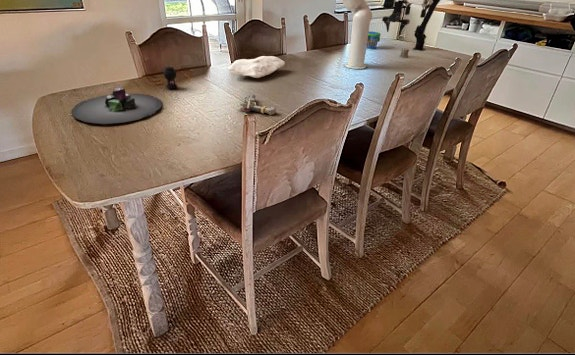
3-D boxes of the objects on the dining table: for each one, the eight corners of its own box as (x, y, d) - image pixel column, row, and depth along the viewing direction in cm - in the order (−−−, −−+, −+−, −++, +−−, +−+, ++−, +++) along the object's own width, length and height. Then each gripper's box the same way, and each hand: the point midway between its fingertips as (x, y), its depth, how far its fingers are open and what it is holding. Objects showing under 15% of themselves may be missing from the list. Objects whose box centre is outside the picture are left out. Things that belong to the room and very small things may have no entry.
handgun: (275, 94, 165) (242, 93, 164) (275, 109, 150) (239, 108, 149) (275, 100, 167) (242, 99, 166) (275, 115, 152) (239, 114, 151)
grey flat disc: (174, 113, 149) (170, 91, 144) (79, 131, 131) (72, 107, 127) (148, 93, 173) (144, 73, 169) (65, 106, 156) (59, 85, 151)
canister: (401, 55, 246) (402, 48, 244) (407, 56, 245) (409, 49, 242) (399, 56, 243) (401, 49, 240) (406, 57, 241) (408, 50, 239)
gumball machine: (165, 90, 172) (162, 69, 166) (163, 86, 176) (159, 65, 171) (180, 88, 175) (177, 67, 169) (177, 85, 179) (174, 64, 174)
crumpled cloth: (215, 70, 197) (215, 54, 191) (268, 61, 215) (270, 45, 209) (238, 89, 184) (239, 72, 178) (292, 77, 202) (294, 61, 196)
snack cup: (373, 45, 269) (375, 30, 263) (383, 48, 262) (386, 33, 256) (357, 47, 261) (359, 32, 256) (367, 50, 254) (370, 35, 249)
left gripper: (441, -19, 184) (432, 18, 193) (412, -22, 195) (405, 13, 204) (433, -19, 179) (424, 19, 189) (403, -22, 190) (397, 14, 200)
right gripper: (380, 9, 257) (377, 32, 265) (406, 12, 248) (401, 36, 256) (387, 7, 264) (383, 30, 273) (412, 10, 255) (407, 34, 264)
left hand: (414, 16), depth 196 cm, fingers open, 9 cm apart
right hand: (393, 33), depth 266 cm, fingers open, 9 cm apart
